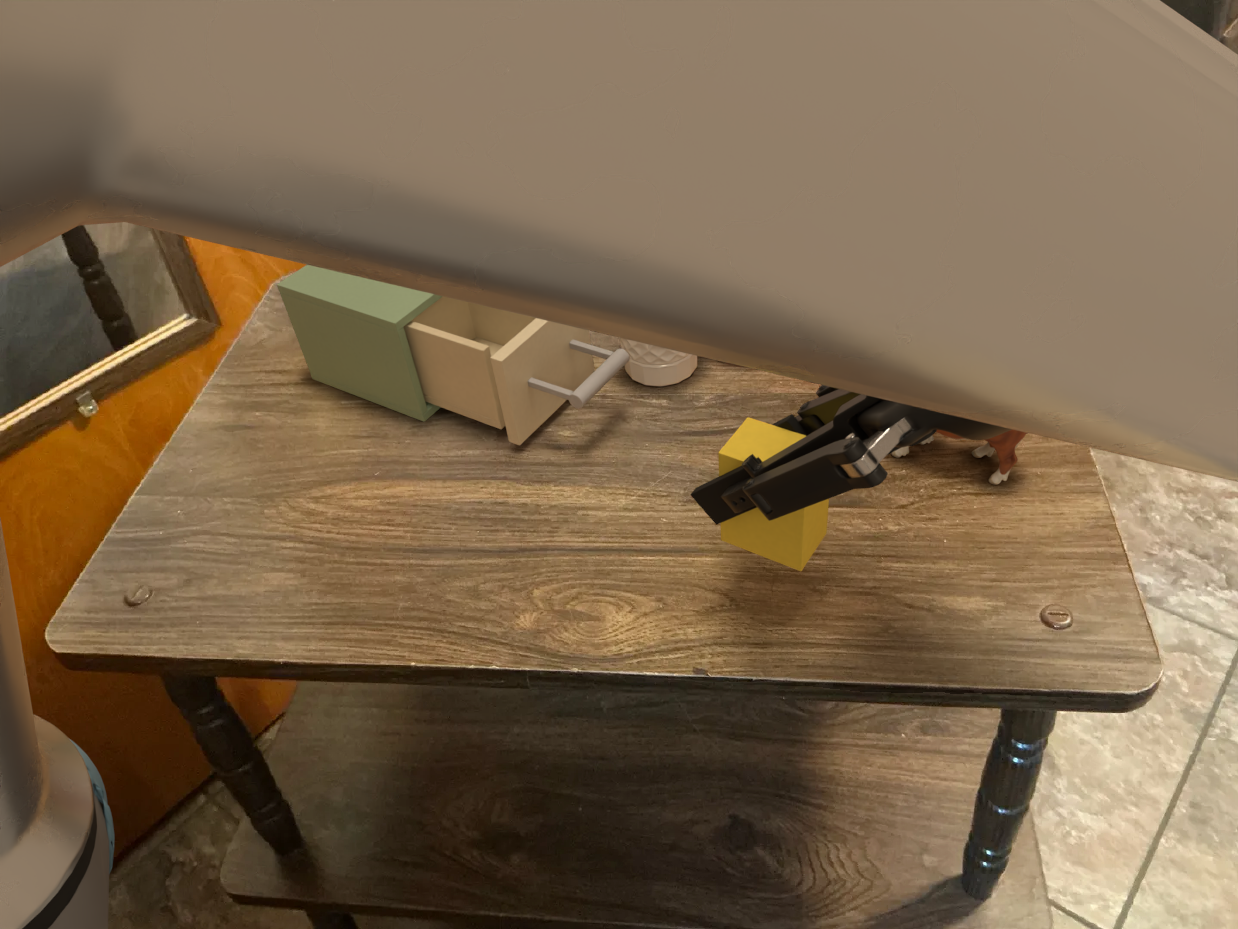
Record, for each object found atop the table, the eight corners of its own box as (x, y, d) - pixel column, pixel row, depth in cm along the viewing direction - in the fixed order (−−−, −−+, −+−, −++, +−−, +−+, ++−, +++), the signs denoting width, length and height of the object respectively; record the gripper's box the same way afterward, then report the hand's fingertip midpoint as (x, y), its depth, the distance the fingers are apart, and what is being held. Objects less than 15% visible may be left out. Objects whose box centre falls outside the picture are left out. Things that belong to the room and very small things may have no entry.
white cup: (620, 343, 94) (609, 250, 88) (702, 338, 94) (698, 244, 87) (617, 393, 88) (606, 299, 82) (705, 388, 88) (701, 292, 81)
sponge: (801, 571, 64) (805, 482, 59) (720, 540, 67) (717, 452, 62) (826, 533, 67) (833, 444, 61) (747, 504, 69) (747, 416, 64)
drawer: (647, 389, 87) (639, 305, 81) (574, 466, 80) (560, 380, 74) (481, 336, 96) (463, 256, 90) (402, 401, 89) (377, 320, 83)
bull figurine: (871, 413, 83) (878, 333, 78) (1032, 465, 77) (1053, 382, 71) (848, 443, 81) (854, 362, 75) (1012, 499, 74) (1032, 415, 69)
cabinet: (509, 348, 95) (489, 251, 88) (424, 422, 88) (395, 323, 81) (400, 313, 102) (373, 220, 95) (312, 379, 95) (276, 284, 88)
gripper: (1006, 510, 43) (695, 610, 62) (1103, 315, 54) (811, 452, 72) (903, 382, 42) (618, 523, 61) (1022, 208, 52) (746, 375, 71)
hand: (723, 484), depth 66 cm, fingers closed on sponge, 4 cm apart
